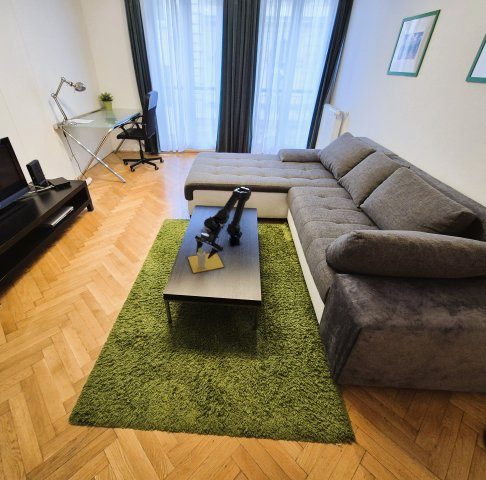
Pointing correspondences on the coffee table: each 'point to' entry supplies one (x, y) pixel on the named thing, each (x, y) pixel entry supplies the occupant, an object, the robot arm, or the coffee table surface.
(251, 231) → the coffee table surface
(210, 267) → the cloth
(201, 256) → the bottle
